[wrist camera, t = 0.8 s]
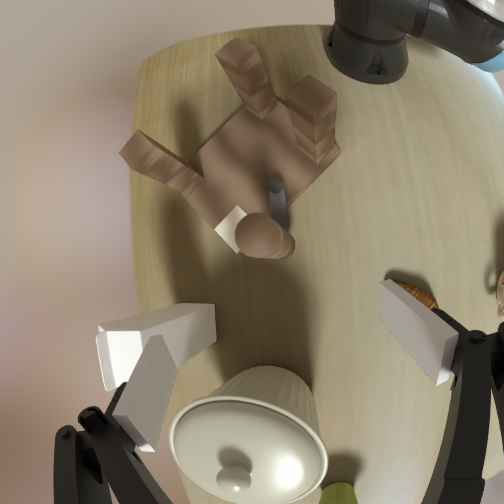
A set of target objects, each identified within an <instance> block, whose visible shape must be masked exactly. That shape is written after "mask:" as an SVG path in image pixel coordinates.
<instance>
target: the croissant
mask: <svg viewBox="0 0 504 504" xmlns="http://www.w3.org/2000/svg"><path fill="white" fill-rule="evenodd" d="M393 282H395V283H396V284H397V285H399V286H400V287H401V288H403V289H404V290H405V291H407V292H408V293H409V294H411V295H412V296H413V297H415V298H416V299H417V300H418V301H420V302H421V303H422V304H424V305H425V306H426V307H427V308H429V309H432V308H434V307H435V308H438V309H439V307H438V304H437V301H436V299H435V298H434V297H432V296H431V295H429V294H428V293H427V292H423V291H419V290H418V288H417V287H416V286H412V285H409V284H406V283H403V282H399V281H396V280H393Z"/></svg>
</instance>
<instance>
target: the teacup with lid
mask: <svg viewBox="0 0 504 504" xmlns="http://www.w3.org/2000/svg"><path fill="white" fill-rule="evenodd" d="M497 301H498V305H499V307H498V309H497V314H498V317H499V318H500V319H501V320H504V270H503V272H502V273H501V275H500V278H499V281H498V285H497Z"/></svg>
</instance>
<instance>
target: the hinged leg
mask: <svg viewBox="0 0 504 504" xmlns="http://www.w3.org/2000/svg"><path fill="white" fill-rule="evenodd" d="M267 187H268V189H269V196H270V207H271V217H270V216H268V215H266V214H264V213H258V212H256V213H251V214H248V215H246V216H244V217H243V218H242V219H241V220H240V221H239V223H238V224H237V226H236V229H235V242H236V244H237V246H238V248H239V249H240V251H241V252H243V253H244V254H245V255H247V256H250V257H257V258H274V259H285V258H287V257H289V256H290V255H291V254H292V253H293V252H294V249H295V240H294V238H293V237H292V235H291V234H289V232H288V221H287V211H286V201H285V191H284V188H285V185H284V181H283V180H282V179H281V178H279V177H272V178H271V179H270V180H269V181H268V183H267Z"/></svg>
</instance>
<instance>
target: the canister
mask: <svg viewBox="0 0 504 504" xmlns="http://www.w3.org/2000/svg"><path fill="white" fill-rule="evenodd" d="M169 444H170V448H171V452H172V454H173V456H174V458H175V460H176V462H177V464H178V465H179V467H180V468H181V469H182V471H183V472H184V473H185V474H186V475H187V476H188V477H189V478H190V479H191V480H192V481H193V482H195V483H196V484H197V485H198V486H200V487H201V488H203V489H204V490H206V491H207V492H209V493H211V494H213V495H215V496H217V497H219V498H222V499H224V500H227V501H230V502H234V503H237V504H288V503H291V502H294V501H297V500H299V499H301V498H303V497H305V496H307V495H308V494H310V493H311V492H312V491H314V490H315V489H316V488H317V487H318V486H319V485H320V483H321V482H322V481H323V479H324V477H325V475H326V472H327V469H328V453H327V449H326V446H325V444H324V442H323V440H322V438H321V437H320V431H319V424H318V416H317V410H316V405H315V401H314V398H313V394H312V392H311V391H310V389H309V387H308V385H306V384H305V381H304V380H302V379H301V378H300V377H299V376H298V375H296V374H294V373H293V372H291V371H289V370H287V369H283V368H281V367H275V366H267V365H265V366H257V367H252V368H249V369H248V370H244V371H242V372H241V373H239V374H237V375H236V376H234V377H233V378H231V379H230V380H228V381H227V382H226V383H224V384H223V385H221V386H220V387H219V388H218V389H216V390H215V391H214V392H212V393H211V394H209V395H208V396H207V397H203V398H200V399H197V400H194V401H192V402H190V403H189V404H187V405H185V406H184V407H183V408H182V409H181V410H179V412H178V413H177V414H176V415H175V416H174V418H173V420H172V422H171V425H170V428H169Z"/></svg>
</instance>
